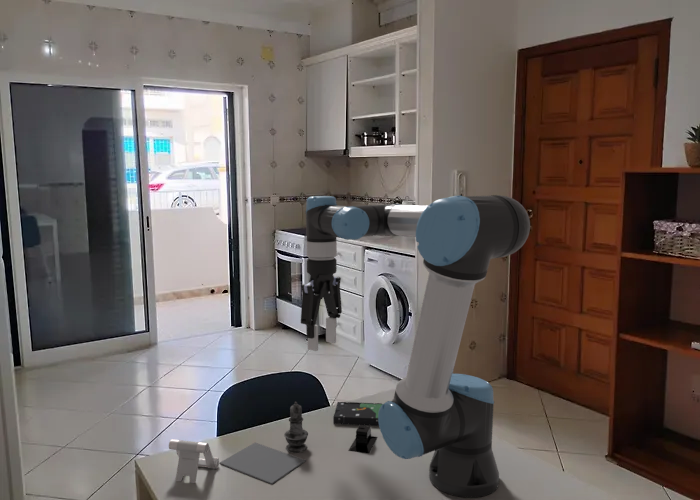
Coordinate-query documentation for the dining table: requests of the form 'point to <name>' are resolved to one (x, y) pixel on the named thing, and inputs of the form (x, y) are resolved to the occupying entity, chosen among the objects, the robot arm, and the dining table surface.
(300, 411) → the dark grey turned piece
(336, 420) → the disk drive
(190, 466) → the portable electronic device stand
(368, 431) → the black boxy piece
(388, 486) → the dining table surface
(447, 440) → the robot arm
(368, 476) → the dining table surface
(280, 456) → the mat
